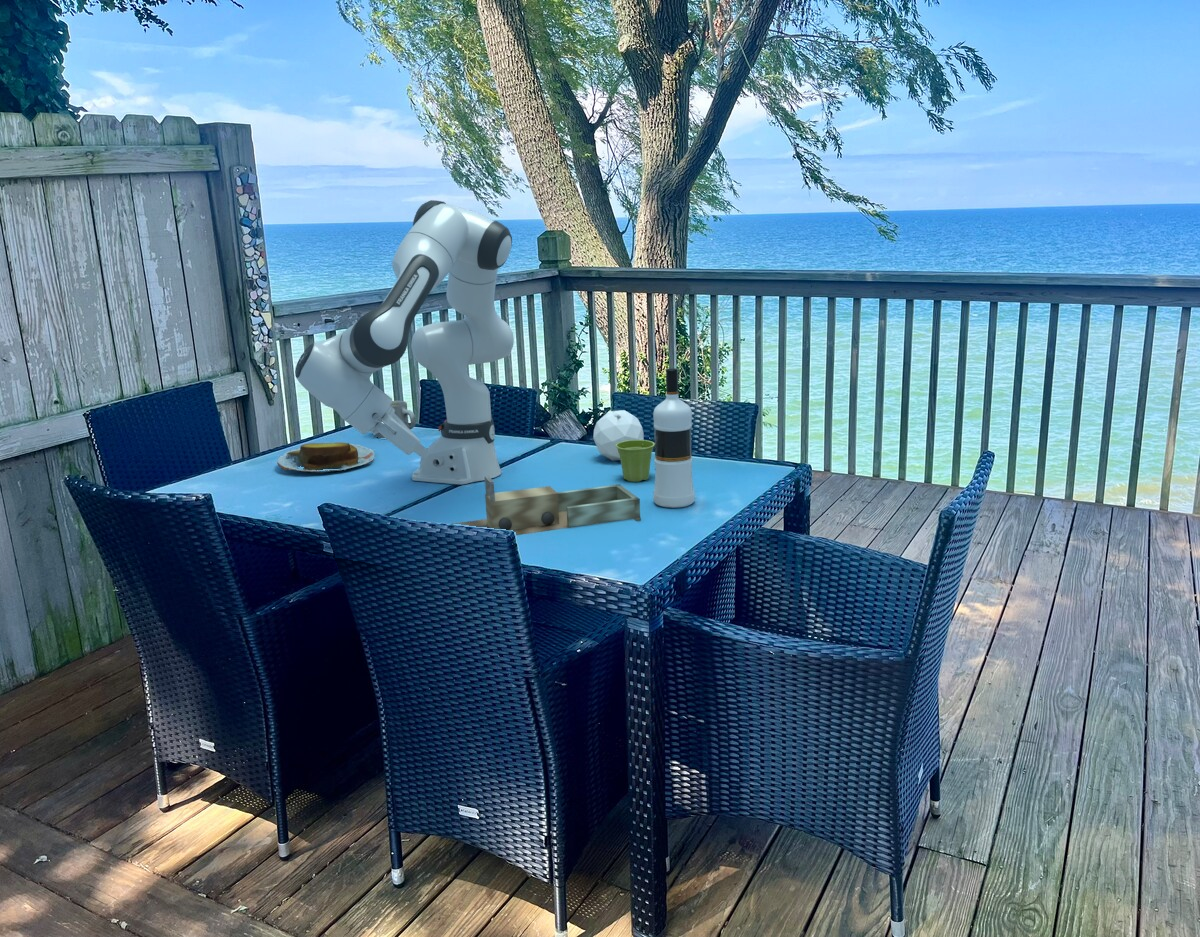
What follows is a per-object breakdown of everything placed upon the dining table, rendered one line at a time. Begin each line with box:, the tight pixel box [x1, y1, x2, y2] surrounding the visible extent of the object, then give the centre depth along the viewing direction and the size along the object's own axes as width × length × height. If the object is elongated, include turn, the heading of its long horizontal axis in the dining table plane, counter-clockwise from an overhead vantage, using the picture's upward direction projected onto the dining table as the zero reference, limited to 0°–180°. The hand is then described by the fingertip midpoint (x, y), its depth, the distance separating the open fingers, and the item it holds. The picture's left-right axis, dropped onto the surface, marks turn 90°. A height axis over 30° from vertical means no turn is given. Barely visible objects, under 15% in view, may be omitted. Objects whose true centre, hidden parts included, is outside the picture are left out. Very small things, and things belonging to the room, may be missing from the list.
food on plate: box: [276, 442, 376, 473], centre depth 252 cm, size 26×26×7 cm
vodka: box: [652, 367, 696, 509], centre depth 202 cm, size 9×9×30 cm
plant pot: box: [616, 439, 655, 483], centre depth 225 cm, size 9×9×9 cm
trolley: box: [484, 476, 559, 530], centre depth 192 cm, size 14×8×10 cm, turn 109°
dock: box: [453, 483, 642, 536], centre depth 194 cm, size 38×13×5 cm, turn 109°
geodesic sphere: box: [592, 409, 645, 462], centre depth 243 cm, size 14×14×14 cm
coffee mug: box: [375, 400, 417, 439], centre depth 282 cm, size 13×10×10 cm
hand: (426, 455), depth 183 cm, fingers closed
